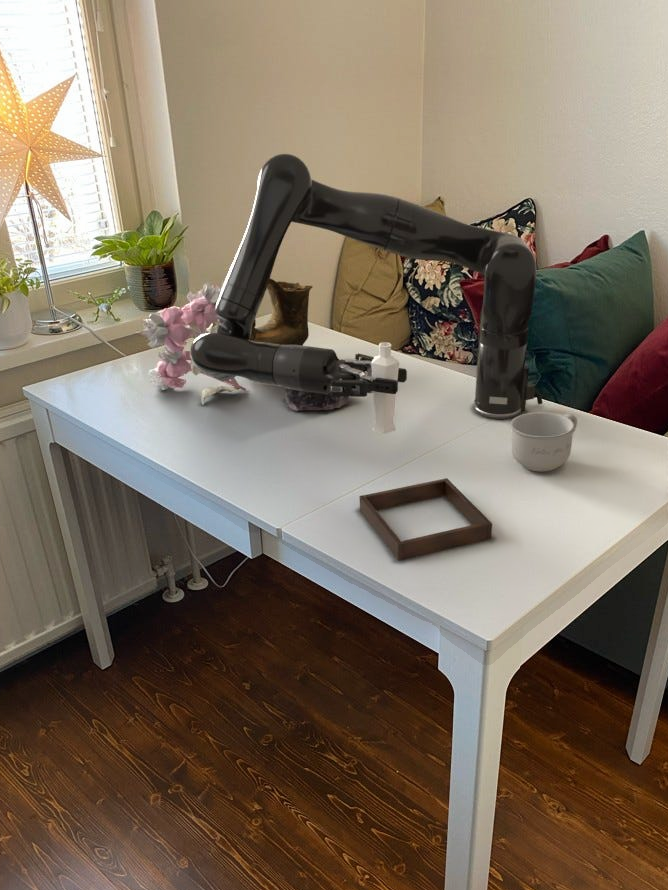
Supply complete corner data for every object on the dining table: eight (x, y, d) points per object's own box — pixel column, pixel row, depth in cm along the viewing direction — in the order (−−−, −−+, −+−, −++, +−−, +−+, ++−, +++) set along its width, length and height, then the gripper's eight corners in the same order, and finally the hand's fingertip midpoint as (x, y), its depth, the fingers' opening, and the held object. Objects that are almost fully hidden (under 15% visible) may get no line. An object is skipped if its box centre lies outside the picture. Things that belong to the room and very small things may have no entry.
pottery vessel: (239, 391, 182) (230, 296, 172) (207, 377, 189) (196, 285, 178) (325, 358, 198) (322, 270, 187) (293, 347, 204) (288, 261, 194)
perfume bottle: (394, 435, 148) (396, 350, 140) (369, 433, 149) (369, 348, 141) (400, 424, 152) (402, 341, 144) (375, 421, 152) (376, 338, 144)
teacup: (531, 483, 149) (535, 441, 145) (495, 457, 158) (499, 416, 153) (595, 466, 155) (602, 424, 151) (558, 441, 163) (563, 401, 159)
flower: (232, 354, 196) (170, 259, 180) (286, 374, 180) (223, 271, 164) (165, 412, 190) (95, 319, 174) (215, 438, 174) (142, 338, 158)
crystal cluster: (333, 422, 171) (337, 373, 166) (270, 407, 174) (272, 359, 169) (357, 401, 183) (361, 355, 178) (297, 387, 186) (300, 341, 181)
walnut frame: (446, 492, 147) (447, 477, 145) (491, 538, 135) (492, 523, 133) (359, 510, 142) (359, 495, 140) (398, 560, 129) (398, 544, 128)
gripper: (288, 362, 141) (389, 375, 137) (319, 333, 153) (414, 345, 148) (290, 405, 145) (388, 419, 141) (321, 374, 157) (413, 386, 153)
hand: (401, 381), depth 145 cm, fingers closed on perfume bottle, 4 cm apart
